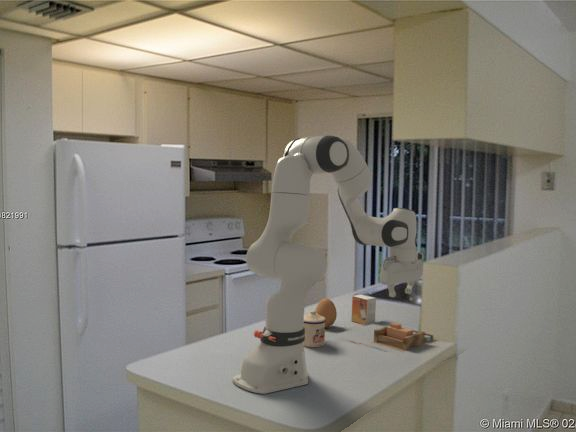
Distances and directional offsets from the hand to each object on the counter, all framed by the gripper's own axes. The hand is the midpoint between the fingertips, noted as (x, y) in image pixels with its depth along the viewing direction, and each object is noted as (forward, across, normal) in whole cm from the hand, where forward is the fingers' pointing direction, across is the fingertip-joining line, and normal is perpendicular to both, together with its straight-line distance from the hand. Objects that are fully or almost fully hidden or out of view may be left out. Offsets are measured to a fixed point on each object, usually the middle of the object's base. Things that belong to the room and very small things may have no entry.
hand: (400, 295), depth 189 cm
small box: (+18, +16, +28) cm, 36 cm away
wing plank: (+16, +10, 0) cm, 19 cm away
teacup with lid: (+18, -20, +22) cm, 34 cm away
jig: (+18, +4, 0) cm, 18 cm away
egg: (+18, -2, +33) cm, 37 cm away
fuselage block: (+17, 0, 0) cm, 17 cm away
